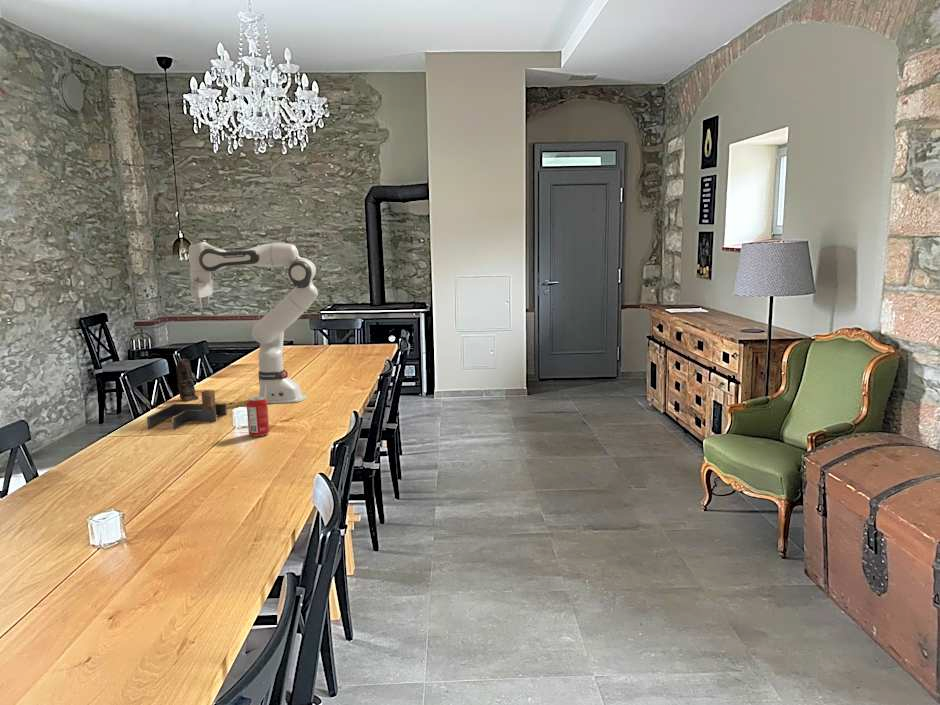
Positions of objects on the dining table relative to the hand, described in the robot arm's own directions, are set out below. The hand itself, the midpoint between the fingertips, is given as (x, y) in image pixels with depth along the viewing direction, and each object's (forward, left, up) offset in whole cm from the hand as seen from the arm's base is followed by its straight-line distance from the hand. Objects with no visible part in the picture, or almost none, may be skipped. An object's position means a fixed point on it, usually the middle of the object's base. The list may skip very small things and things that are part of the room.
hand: (203, 306), depth 340 cm
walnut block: (-13, +32, -45) cm, 57 cm away
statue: (+13, -3, -45) cm, 47 cm away
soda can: (-44, +57, -45) cm, 85 cm away
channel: (-6, +37, -45) cm, 59 cm away
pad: (0, +44, -45) cm, 63 cm away
